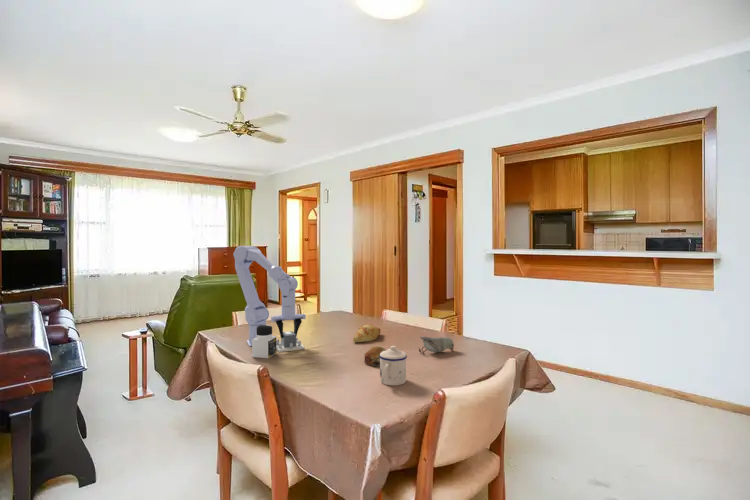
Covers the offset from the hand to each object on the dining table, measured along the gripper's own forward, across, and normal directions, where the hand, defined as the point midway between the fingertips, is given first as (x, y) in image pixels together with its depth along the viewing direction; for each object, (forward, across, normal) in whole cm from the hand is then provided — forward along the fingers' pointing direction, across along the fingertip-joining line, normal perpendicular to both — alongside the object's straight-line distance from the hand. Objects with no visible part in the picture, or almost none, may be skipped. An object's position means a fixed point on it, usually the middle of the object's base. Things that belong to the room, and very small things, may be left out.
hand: (288, 336), depth 170 cm
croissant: (+5, +37, -1) cm, 37 cm away
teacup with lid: (+5, +22, -56) cm, 60 cm away
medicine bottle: (+5, -12, -8) cm, 15 cm away
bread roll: (+5, +26, -35) cm, 44 cm away
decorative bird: (+5, +54, -33) cm, 64 cm away
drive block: (+4, 0, 0) cm, 4 cm away
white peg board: (+4, 0, 0) cm, 4 cm away
